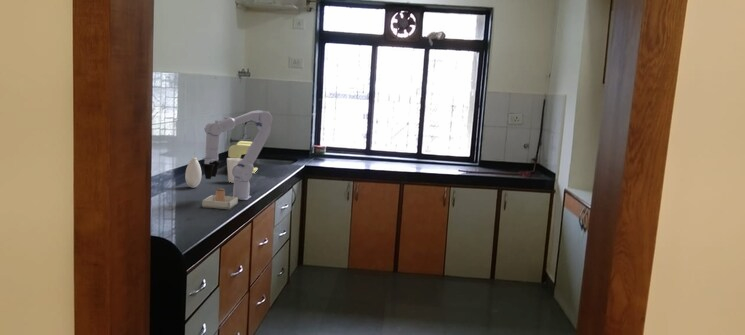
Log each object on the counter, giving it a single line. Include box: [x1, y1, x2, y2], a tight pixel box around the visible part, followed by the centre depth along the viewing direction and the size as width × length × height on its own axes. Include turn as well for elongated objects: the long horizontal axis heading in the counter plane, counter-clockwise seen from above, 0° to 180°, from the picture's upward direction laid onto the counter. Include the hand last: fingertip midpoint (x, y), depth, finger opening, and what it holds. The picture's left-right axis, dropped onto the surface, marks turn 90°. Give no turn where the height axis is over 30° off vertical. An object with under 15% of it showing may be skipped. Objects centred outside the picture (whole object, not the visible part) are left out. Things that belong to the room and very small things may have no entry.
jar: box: [215, 187, 226, 202], centre depth 255 cm, size 4×4×7 cm
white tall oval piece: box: [184, 152, 203, 189], centre depth 292 cm, size 8×8×18 cm
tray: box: [201, 194, 239, 210], centre depth 256 cm, size 14×12×3 cm
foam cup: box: [226, 157, 243, 184], centre depth 320 cm, size 10×9×13 cm
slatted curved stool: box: [227, 140, 259, 174], centre depth 365 cm, size 30×16×18 cm, turn 5°
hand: (210, 177), depth 265 cm, fingers open, 7 cm apart
